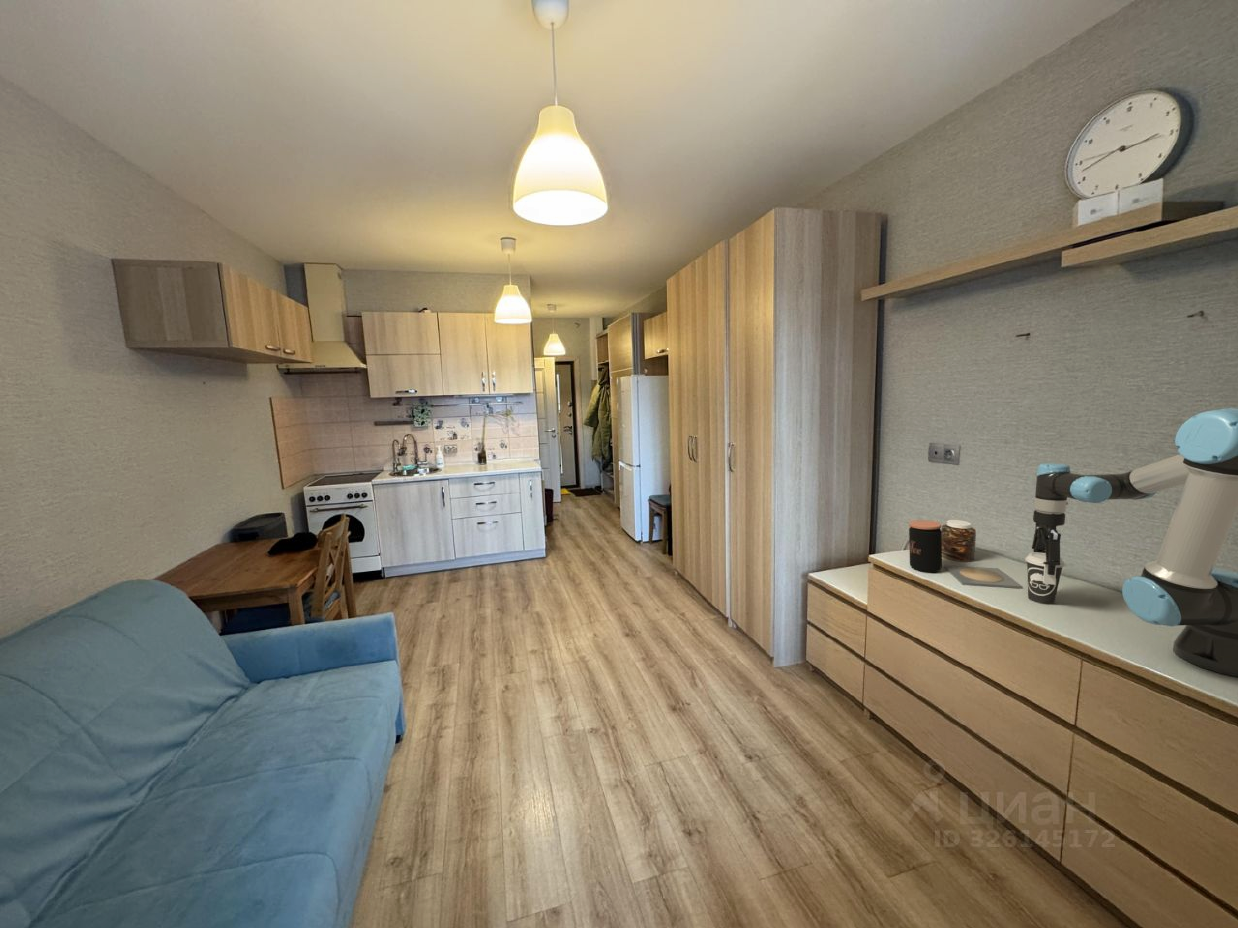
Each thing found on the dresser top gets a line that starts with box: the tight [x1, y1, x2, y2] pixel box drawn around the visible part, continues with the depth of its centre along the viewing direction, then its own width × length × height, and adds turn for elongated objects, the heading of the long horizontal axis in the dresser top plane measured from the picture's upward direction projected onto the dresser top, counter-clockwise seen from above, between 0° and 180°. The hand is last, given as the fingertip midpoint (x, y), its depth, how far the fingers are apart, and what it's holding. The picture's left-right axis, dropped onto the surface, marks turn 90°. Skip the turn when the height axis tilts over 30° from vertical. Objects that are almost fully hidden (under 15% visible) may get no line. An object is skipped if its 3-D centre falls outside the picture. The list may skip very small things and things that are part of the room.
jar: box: [941, 519, 977, 563], centre depth 194 cm, size 12×12×15 cm
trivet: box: [943, 564, 1024, 590], centre depth 174 cm, size 18×18×1 cm
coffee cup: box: [1025, 551, 1065, 605], centre depth 153 cm, size 10×10×15 cm
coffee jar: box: [908, 520, 943, 573], centre depth 183 cm, size 11×11×18 cm
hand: (1043, 577), depth 153 cm, fingers closed on coffee cup, 9 cm apart
